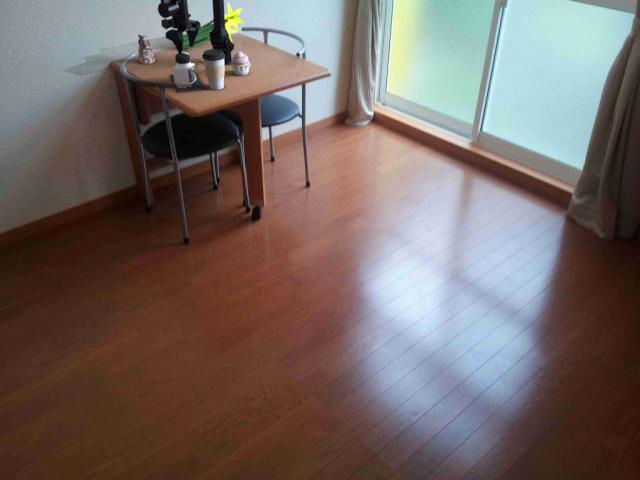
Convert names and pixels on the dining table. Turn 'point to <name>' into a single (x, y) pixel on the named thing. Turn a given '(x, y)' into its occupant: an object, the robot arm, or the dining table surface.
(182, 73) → the medicine bottle
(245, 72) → the cupcake
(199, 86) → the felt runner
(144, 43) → the figurine
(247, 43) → the dining table surface
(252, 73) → the dining table surface
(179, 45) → the robot arm
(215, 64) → the coffee cup
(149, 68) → the dining table surface
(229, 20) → the daffodil flowers
